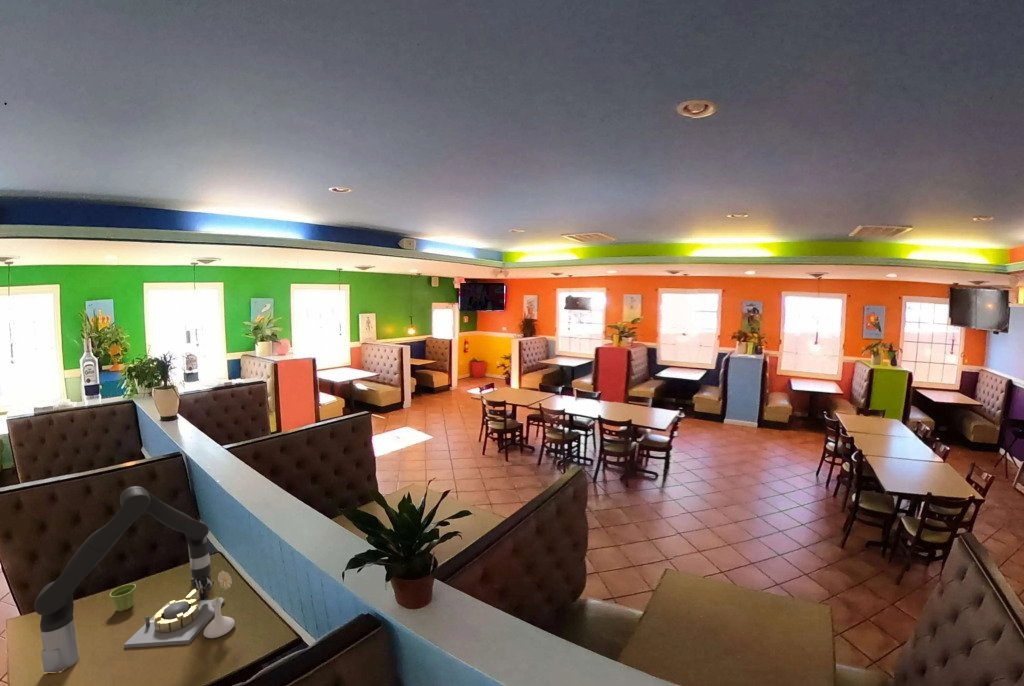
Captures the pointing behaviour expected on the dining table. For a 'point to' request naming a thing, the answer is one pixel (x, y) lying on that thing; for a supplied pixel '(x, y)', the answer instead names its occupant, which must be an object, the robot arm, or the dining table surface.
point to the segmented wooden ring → (181, 618)
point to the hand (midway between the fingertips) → (204, 599)
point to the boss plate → (178, 636)
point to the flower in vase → (220, 622)
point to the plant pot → (123, 597)
